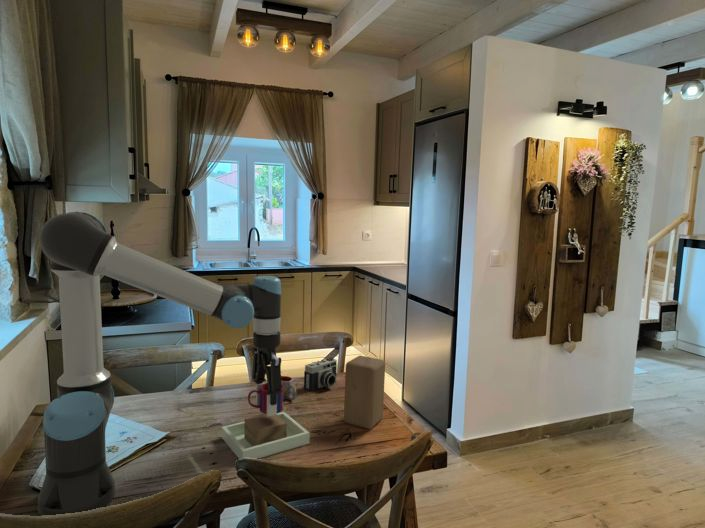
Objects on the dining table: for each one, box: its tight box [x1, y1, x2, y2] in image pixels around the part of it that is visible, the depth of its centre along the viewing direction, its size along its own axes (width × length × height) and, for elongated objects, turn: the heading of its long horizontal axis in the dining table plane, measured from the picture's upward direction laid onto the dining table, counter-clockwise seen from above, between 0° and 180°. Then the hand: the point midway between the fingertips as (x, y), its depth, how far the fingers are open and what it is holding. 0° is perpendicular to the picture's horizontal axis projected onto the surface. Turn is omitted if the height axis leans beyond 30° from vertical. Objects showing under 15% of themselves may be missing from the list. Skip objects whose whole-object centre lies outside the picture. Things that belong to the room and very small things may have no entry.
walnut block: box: [244, 413, 287, 447], centre depth 135 cm, size 9×9×6 cm
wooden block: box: [343, 355, 386, 430], centre depth 151 cm, size 10×10×20 cm
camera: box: [303, 357, 338, 393], centre depth 178 cm, size 14×9×10 cm, turn 130°
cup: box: [247, 382, 284, 414], centre depth 134 cm, size 7×10×7 cm
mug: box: [281, 375, 298, 402], centre depth 167 cm, size 12×7×7 cm, turn 31°
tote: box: [221, 411, 311, 460], centre depth 135 cm, size 20×16×4 cm
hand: (266, 409), depth 134 cm, fingers closed on cup, 7 cm apart
